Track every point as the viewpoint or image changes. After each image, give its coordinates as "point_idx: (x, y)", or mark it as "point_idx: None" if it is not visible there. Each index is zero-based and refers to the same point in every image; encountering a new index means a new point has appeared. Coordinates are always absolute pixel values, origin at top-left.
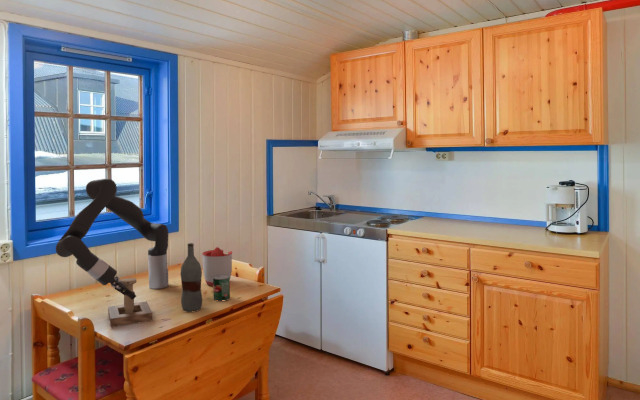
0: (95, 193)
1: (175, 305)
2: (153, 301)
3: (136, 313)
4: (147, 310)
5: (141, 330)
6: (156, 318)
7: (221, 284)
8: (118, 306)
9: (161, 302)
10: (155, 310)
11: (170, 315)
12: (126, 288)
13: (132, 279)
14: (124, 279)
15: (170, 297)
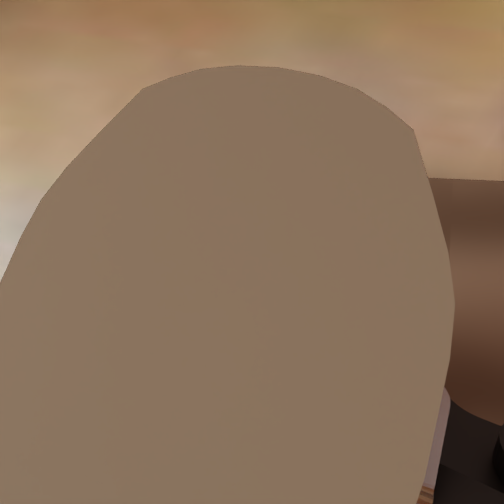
0: None
1: (241, 8)
2: (58, 127)
3: (500, 339)
4: (450, 213)
5: None
6: (476, 176)
7: None
8: None
9: (115, 82)
10: None
11: (458, 67)
12: (442, 465)
13: (254, 191)
14: (63, 463)
15: (58, 17)
